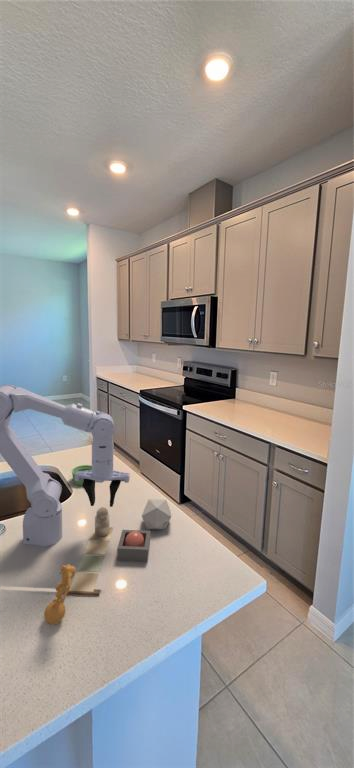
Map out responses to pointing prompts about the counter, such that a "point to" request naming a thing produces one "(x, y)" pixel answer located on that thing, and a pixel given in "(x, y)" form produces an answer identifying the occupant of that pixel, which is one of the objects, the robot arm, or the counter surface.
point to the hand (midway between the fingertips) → (102, 504)
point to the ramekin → (80, 468)
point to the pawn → (102, 522)
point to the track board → (90, 567)
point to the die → (156, 514)
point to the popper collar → (133, 548)
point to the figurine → (59, 596)
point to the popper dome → (134, 539)
